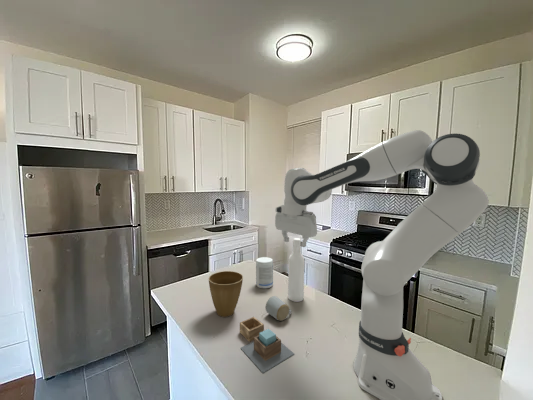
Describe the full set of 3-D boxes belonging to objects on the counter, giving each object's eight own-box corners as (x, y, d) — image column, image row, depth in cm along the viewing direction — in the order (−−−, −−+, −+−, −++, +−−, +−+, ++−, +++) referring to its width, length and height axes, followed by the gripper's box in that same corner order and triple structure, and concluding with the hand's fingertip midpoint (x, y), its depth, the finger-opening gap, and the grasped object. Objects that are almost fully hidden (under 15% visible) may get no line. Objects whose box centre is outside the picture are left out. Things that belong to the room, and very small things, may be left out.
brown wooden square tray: (281, 352, 78) (281, 340, 77) (265, 361, 74) (265, 348, 73) (269, 341, 83) (269, 330, 83) (253, 349, 79) (253, 337, 79)
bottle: (303, 302, 111) (304, 241, 109) (287, 301, 112) (288, 240, 110) (303, 294, 119) (305, 237, 117) (288, 293, 120) (289, 236, 118)
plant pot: (222, 326, 92) (222, 287, 91) (202, 312, 102) (201, 277, 101) (249, 311, 103) (250, 276, 102) (228, 300, 113) (228, 268, 112)
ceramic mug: (277, 324, 93) (277, 306, 93) (264, 315, 100) (265, 298, 99) (295, 316, 100) (296, 298, 100) (282, 308, 106) (283, 291, 106)
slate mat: (294, 354, 77) (294, 353, 77) (262, 373, 69) (262, 372, 69) (270, 334, 87) (270, 333, 87) (240, 348, 80) (240, 347, 80)
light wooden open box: (263, 335, 87) (263, 324, 87) (249, 342, 83) (249, 331, 83) (253, 326, 92) (253, 316, 92) (239, 333, 88) (239, 322, 88)
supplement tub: (276, 285, 130) (276, 259, 129) (264, 290, 123) (264, 263, 122) (264, 280, 137) (264, 255, 136) (252, 284, 130) (252, 259, 129)
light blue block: (275, 350, 78) (275, 334, 77) (266, 355, 75) (266, 339, 75) (268, 343, 81) (268, 328, 81) (259, 348, 79) (259, 333, 78)
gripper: (321, 211, 85) (320, 248, 86) (283, 206, 101) (283, 238, 102) (309, 213, 81) (308, 251, 82) (272, 207, 97) (272, 240, 98)
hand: (294, 244), depth 92 cm, fingers open, 8 cm apart
